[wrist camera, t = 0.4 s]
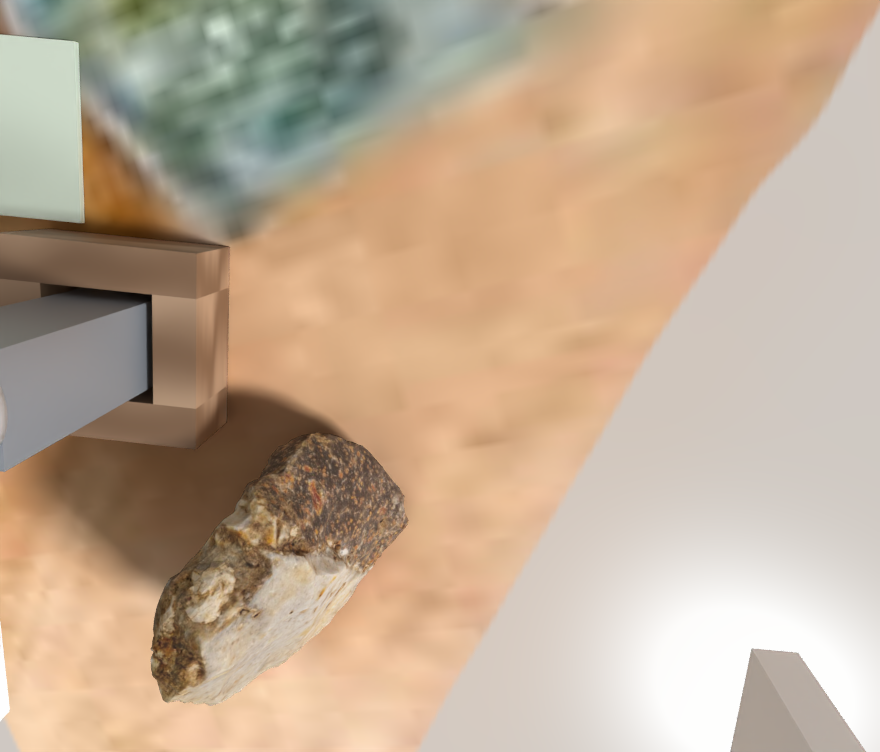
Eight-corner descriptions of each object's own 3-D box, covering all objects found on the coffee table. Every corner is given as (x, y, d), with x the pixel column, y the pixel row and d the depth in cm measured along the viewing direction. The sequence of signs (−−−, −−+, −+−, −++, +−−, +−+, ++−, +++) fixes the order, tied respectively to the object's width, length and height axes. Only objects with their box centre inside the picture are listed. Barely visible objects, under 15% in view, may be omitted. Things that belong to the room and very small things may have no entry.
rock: (324, 791, 37) (276, 730, 25) (196, 740, 39) (95, 660, 27) (416, 547, 46) (413, 417, 34) (309, 512, 47) (270, 376, 35)
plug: (95, 278, 39) (-164, 334, 23) (184, 288, 38) (-18, 350, 23) (98, 366, 40) (-147, 474, 24) (184, 375, 40) (-8, 490, 24)
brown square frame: (49, 228, 38) (-7, 232, 34) (229, 246, 38) (196, 253, 33) (57, 403, 41) (6, 428, 36) (226, 422, 40) (195, 449, 36)
